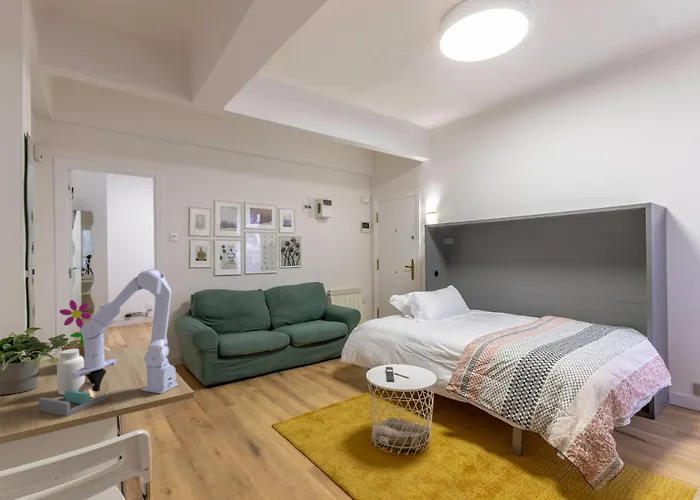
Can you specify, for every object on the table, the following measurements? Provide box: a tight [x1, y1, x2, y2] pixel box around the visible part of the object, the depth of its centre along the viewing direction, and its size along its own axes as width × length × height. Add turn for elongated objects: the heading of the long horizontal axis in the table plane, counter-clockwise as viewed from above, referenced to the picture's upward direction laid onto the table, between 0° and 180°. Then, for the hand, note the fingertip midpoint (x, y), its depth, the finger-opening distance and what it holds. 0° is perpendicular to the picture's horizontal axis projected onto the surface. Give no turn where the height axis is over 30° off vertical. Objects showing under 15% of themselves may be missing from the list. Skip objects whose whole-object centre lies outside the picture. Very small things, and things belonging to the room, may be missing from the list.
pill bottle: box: [56, 349, 86, 396], centre depth 132 cm, size 8×8×15 cm
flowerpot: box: [59, 299, 94, 367], centre depth 157 cm, size 14×14×30 cm
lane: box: [38, 393, 107, 417], centre depth 121 cm, size 13×13×4 cm
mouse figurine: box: [79, 377, 97, 399], centre depth 125 cm, size 5×8×7 cm, turn 112°
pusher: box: [64, 390, 91, 405], centre depth 122 cm, size 10×1×4 cm, turn 72°
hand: (96, 390), depth 128 cm, fingers closed, pressing on mouse figurine
